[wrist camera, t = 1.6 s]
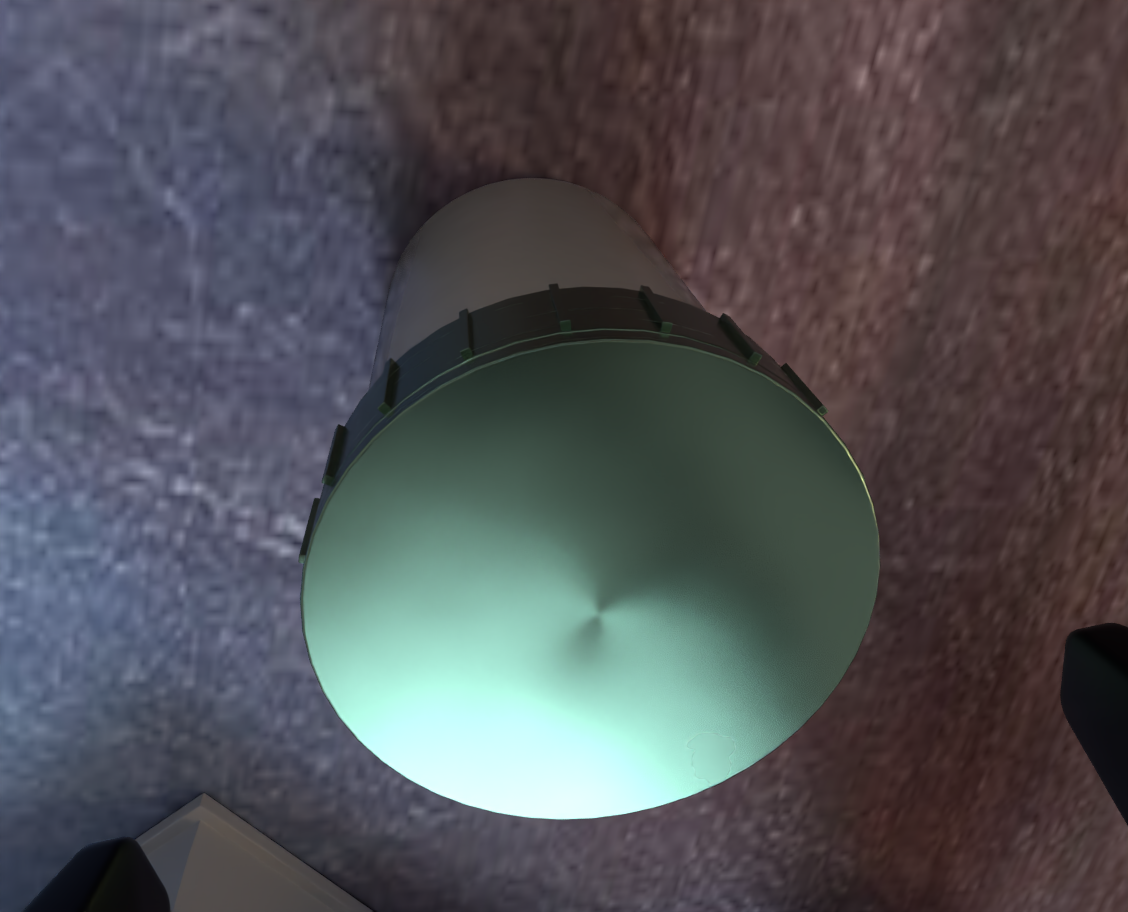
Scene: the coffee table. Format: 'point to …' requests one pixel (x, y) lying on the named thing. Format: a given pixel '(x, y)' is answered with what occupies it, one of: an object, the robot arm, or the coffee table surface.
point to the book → (233, 866)
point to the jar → (515, 257)
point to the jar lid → (585, 556)
